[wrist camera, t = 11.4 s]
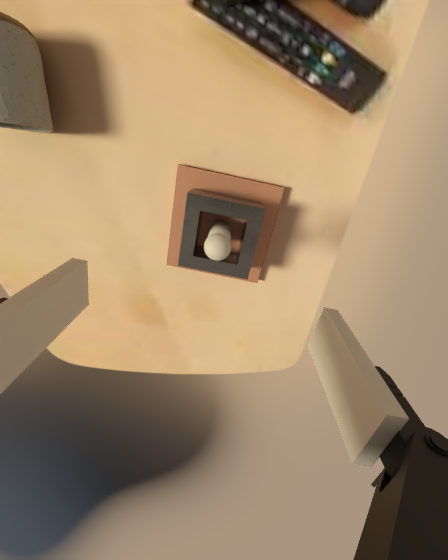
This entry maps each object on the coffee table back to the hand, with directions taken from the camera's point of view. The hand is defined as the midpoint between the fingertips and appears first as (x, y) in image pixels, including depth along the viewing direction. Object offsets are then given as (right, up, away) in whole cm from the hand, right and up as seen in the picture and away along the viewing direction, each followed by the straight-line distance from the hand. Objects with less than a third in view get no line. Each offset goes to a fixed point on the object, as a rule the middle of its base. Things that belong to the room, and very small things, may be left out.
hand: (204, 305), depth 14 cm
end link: (+1, +7, +17) cm, 18 cm away
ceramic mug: (-21, +21, +13) cm, 32 cm away
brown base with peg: (+1, +8, +18) cm, 19 cm away
